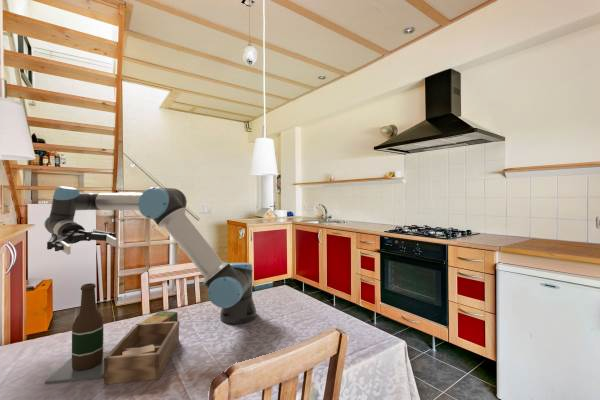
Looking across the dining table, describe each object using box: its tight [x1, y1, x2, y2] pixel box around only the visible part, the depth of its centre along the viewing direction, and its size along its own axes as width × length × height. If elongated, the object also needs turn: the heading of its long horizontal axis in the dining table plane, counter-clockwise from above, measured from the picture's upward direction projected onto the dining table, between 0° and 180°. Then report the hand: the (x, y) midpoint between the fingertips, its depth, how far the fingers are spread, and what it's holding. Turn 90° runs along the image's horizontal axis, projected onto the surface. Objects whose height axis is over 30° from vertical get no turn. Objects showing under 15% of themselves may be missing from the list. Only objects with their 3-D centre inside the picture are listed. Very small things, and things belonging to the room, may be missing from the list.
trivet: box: [44, 350, 112, 384], centre depth 86 cm, size 14×14×1 cm
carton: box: [131, 310, 179, 329], centre depth 111 cm, size 8×16×4 cm, turn 171°
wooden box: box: [103, 320, 180, 385], centre depth 89 cm, size 14×22×7 cm, turn 10°
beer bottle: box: [71, 282, 104, 371], centre depth 86 cm, size 8×8×24 cm
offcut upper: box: [122, 344, 155, 355], centre depth 83 cm, size 8×4×3 cm, turn 123°
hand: (93, 246), depth 96 cm, fingers open, 13 cm apart
